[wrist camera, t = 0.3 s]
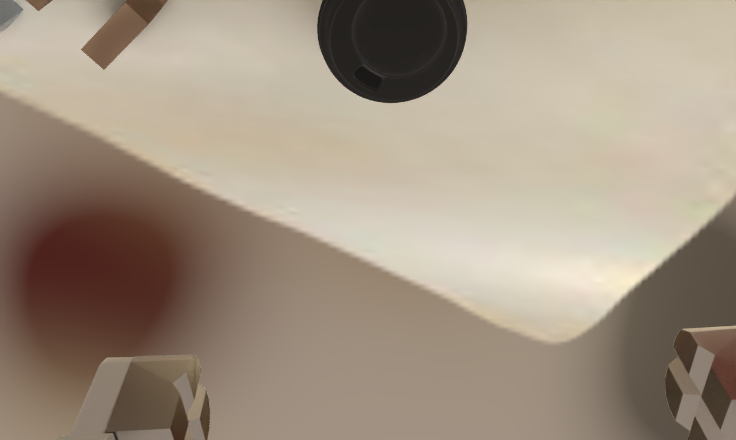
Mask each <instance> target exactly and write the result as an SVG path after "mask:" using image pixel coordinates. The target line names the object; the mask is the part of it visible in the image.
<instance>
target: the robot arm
mask: <svg viewBox="0 0 736 440" xmlns="http://www.w3.org/2000/svg"><path fill="white" fill-rule="evenodd" d="M673 347H674V349H675V351H676V352H677V354H678V357H677V358H676V359H675V360H674V361H673V362H671V363H670V364H669V365H668V368H667V372H666V377H665V392H666V398H667V402H668V405H669V408H670V410H671V412H672V415H673V416H674V418H675V420H676V421H677V422H678V423H680V424H681V425H682V426H684V427H685V428H687V429H688V430H689V431H690V433H689V437H688V440H736V326H725V327H708V328H691V329H681V330H680V332H679V333H678V334H677V335H676V338H675V342H674V345H673ZM200 375H201V368H200V364H199V361H198V358H197V357H196V356H194V355H169V356H137V357H124V358H123V357H121V358H120V357H119V358H106V359H105V360H104V361H103V362H102V363H101V364H100V365H99V368H98V370H97V372H96V375H95V377H94V379H93V382H92V384H91V387H90V389H89V391H88V393H87V396H86V398H85V401H84V403H83V406H82V407H81V410H80V412H79V415H78V417H77V419H76V421H75V424H74V426H73V428H72V431H71V433H70V435H65V436H60V437H59V438H58V439H56V440H207V439H208V434H209V425H210V407H209V398H208V395H207V390H206V389H205V388H204V387H203V386H201V385H200V384H199V379H200Z"/></svg>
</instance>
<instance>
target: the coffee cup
mask: <svg viewBox="0 0 736 440" xmlns="http://www.w3.org/2000/svg"><path fill="white" fill-rule="evenodd" d="M317 27H318V40H319V46H320V49H321V52H322V55H323V57H324V59H325V62H326V63H327V65H328V67H329V69H330V71H331V72H332V73H333V75H334V76H335V77H336V78H337V80H338V81H339V82H340V83H341V84H342V85H343V86H345V87H346V88H347V89H349V90H350V91H352V92H353V93H355V94H357V95H359V96H361V97H363V98H366V99H369V100H372V101H376V102H383V103H399V102H405V101H410V100H413V99H416V98H419V97H421V96H423V95H426V94H427V93H429V92H431V91H432V90H434V89H435V88H437V87H438V86H439V85H440V84H442V83H443V82H444V81H445V80H446V79H447V77H448V76H449V75H450V74H451V73H452V71H453V70H454V68H455V67H456V65H457V63H458V61H459V59H460V57H461V55H462V52H463V49H464V45H465V41H466V34H467V15H466V9H465V5H464V2H463V0H323V2H322V4H321V8H320V11H319V16H318V25H317Z"/></svg>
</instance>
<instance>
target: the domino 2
mask: <svg viewBox="0 0 736 440" xmlns="http://www.w3.org/2000/svg"><path fill="white" fill-rule="evenodd" d="M26 1H28V2H29V3H30V4H31V5H32V6H33V7H34V8H36V9H37V10H38V11H39V10H40V9H42V8H43V7H44V6H46V5H47V4H48V3H50V2H51V1H52V0H26Z"/></svg>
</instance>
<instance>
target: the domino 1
mask: <svg viewBox="0 0 736 440" xmlns="http://www.w3.org/2000/svg"><path fill="white" fill-rule="evenodd" d="M22 10H23V9H22V8H21V7H20V6H19V5H18V4H16V3H15V2H14V1H13V0H0V32H1V31H3V30H4V29H5V28H7V27H8V26H9V25H10V24H11V23H12V22H13V21H14V20H15V18H16V17H17V16H18V15H19V14H20V13H21V12H22Z"/></svg>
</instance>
